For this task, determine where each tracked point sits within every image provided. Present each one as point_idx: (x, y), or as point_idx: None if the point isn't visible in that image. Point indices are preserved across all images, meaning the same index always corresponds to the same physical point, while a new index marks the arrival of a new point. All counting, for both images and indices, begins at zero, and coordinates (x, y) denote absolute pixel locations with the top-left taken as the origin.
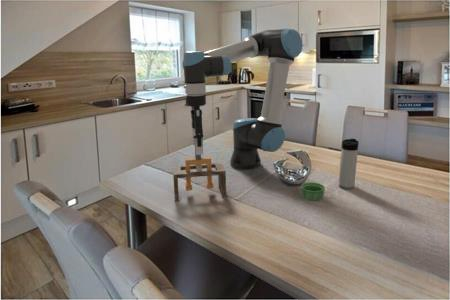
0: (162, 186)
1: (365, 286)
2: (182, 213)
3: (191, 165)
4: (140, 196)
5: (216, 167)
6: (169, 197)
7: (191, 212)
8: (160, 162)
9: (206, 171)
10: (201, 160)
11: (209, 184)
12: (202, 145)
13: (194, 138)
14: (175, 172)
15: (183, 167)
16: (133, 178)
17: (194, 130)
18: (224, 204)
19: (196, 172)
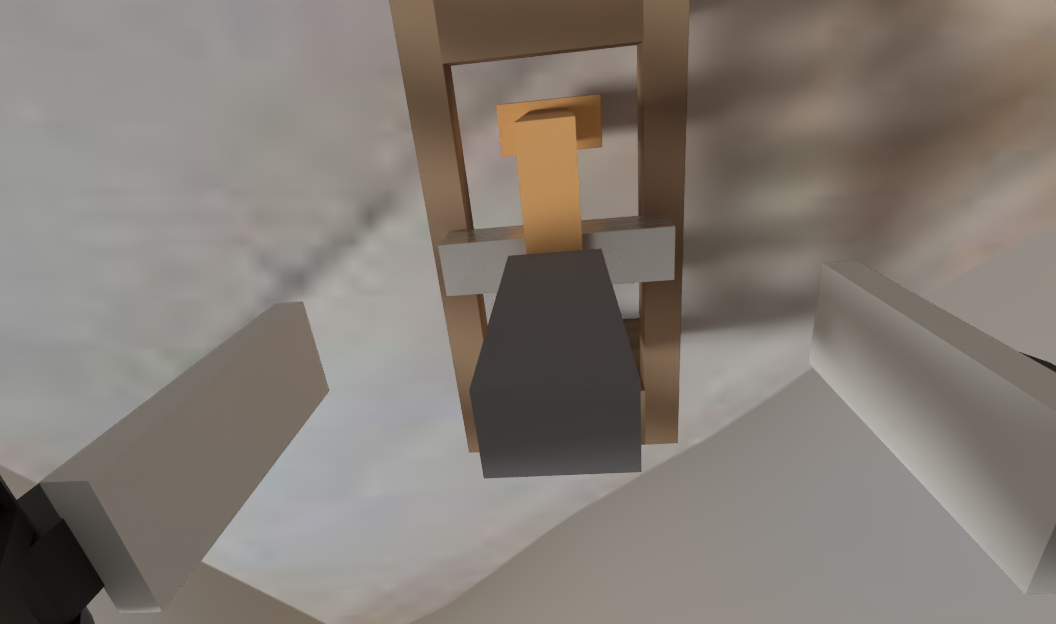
0: (419, 410)
1: None
2: (808, 295)
3: (466, 310)
4: (545, 496)
5: (555, 48)
6: None
7: (812, 246)
8: (27, 442)
9: (660, 170)
10: (580, 240)
11: (584, 129)
12: (964, 333)
13: (491, 476)
14: None
15: None
16: (308, 544)
17: (165, 548)
18: (763, 16)
19: None
